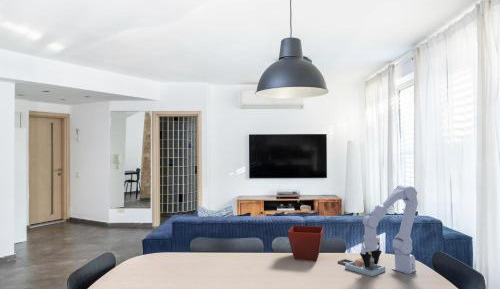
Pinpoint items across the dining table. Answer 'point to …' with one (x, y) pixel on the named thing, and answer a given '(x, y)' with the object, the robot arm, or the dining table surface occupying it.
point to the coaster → (343, 261)
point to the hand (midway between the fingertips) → (371, 265)
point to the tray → (363, 270)
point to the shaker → (371, 264)
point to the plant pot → (305, 242)
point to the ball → (358, 263)
